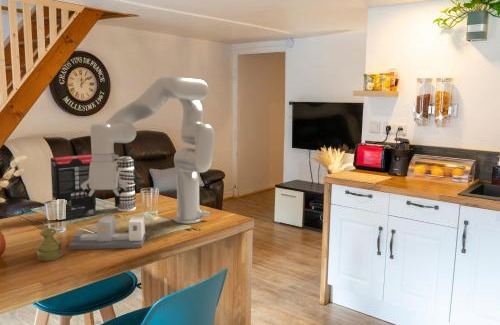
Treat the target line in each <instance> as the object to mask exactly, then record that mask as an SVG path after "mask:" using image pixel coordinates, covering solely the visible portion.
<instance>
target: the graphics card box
mask: <svg viewBox="0 0 500 325" xmlns="http://www.w3.org/2000/svg"><path fill="white" fill-rule="evenodd" d="M90 162H92V154H83V155H82V154H80V155H72V156H71V155H69V156H60V157H51V158H50V172H51V175H50V176H51V191H52V192H51V195H52V196H51V197H52V199H51V200H52V201H53V200H57V199H65V200H67V204H66V220H65V221H67V220H72V219H79V218H83V217H84V218H85V217H89V216H95V215H96V214H97V213H96V211H97V210H96V209H97V208H96V207H97V205H95V206H94V207H92V204H90V196H89V195H88V194H87V193H86V192H85V191H84V190H83V189H82V187H81V186H80V185H81V184H83V183H84V182H85V181H87V180H88V179H89V168H90ZM86 186H87V188H89V183H88V184H87V185H86ZM89 189H90V188H89ZM90 190H91V189H90ZM94 195H95V196H96V192H95V193H94Z"/></svg>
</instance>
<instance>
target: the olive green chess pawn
mask: <svg viewBox="0 0 500 325" xmlns="http://www.w3.org/2000/svg"><path fill="white" fill-rule="evenodd" d="M56 233H57V230H56V229H54V228H51V227H45V228H44V229H42V230H41V231H39V235H40V236H42V237H43V239H42V241H40V243H38V244H37V245H36V250H37V252H36V254H37V260H38V261H40V262H52V261H55V260H58V259H60V258H61V257H62V256H63V255H62V254H63V253H62V252H63V251H62V243H61V242H60V241H59V240H57V239H55V238H54V236H55V234H56Z"/></svg>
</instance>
